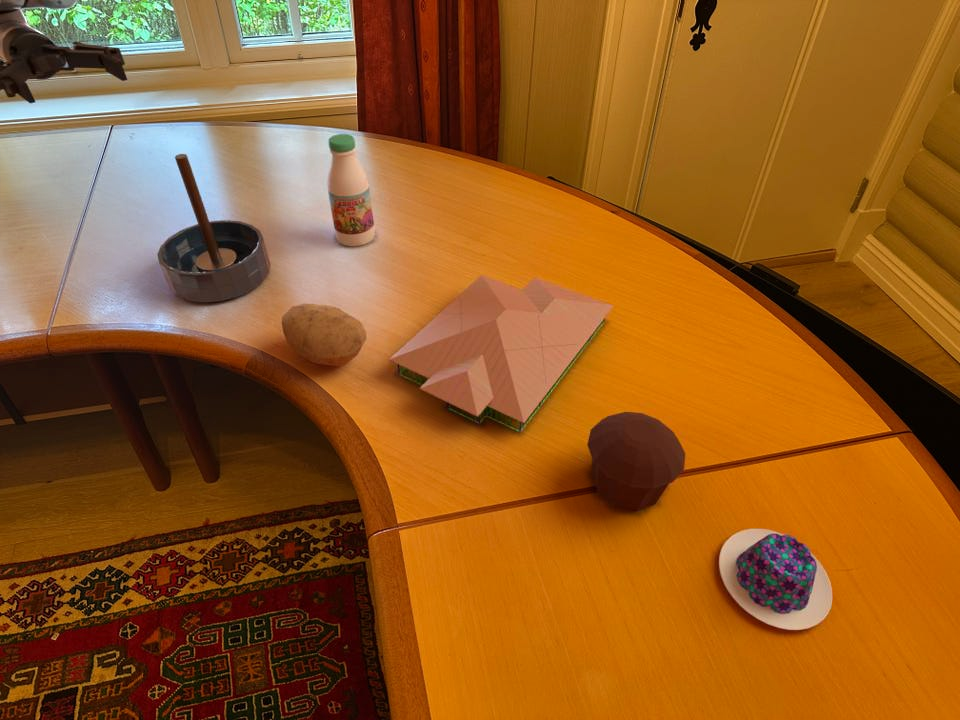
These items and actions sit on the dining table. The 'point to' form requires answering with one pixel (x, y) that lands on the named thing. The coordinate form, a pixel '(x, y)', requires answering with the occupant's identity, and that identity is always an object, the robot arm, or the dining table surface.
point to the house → (502, 346)
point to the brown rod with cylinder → (204, 224)
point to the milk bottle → (349, 194)
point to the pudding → (775, 579)
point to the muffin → (634, 459)
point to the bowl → (217, 284)
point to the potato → (323, 333)
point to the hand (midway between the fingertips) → (77, 82)
